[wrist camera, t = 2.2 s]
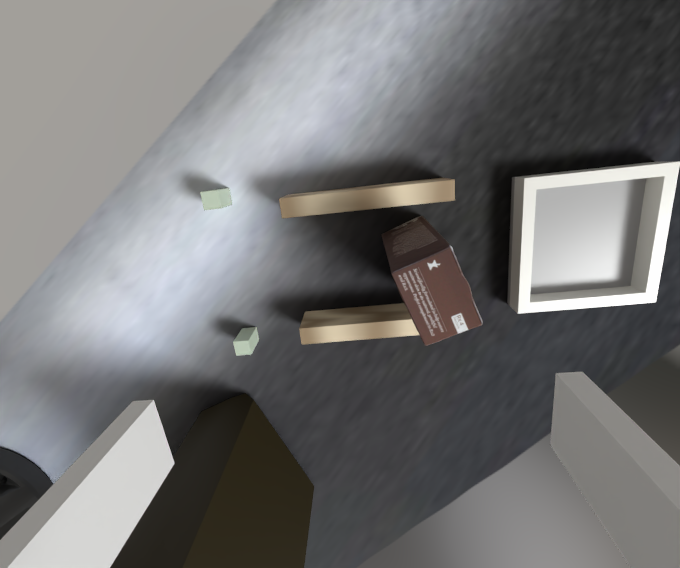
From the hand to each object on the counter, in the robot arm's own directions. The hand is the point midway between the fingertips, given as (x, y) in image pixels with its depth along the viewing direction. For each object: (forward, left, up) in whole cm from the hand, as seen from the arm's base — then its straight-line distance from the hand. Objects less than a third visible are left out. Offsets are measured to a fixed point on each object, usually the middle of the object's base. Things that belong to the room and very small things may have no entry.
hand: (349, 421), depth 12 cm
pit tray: (+21, -1, -24) cm, 32 cm away
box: (+6, -1, -24) cm, 25 cm away
